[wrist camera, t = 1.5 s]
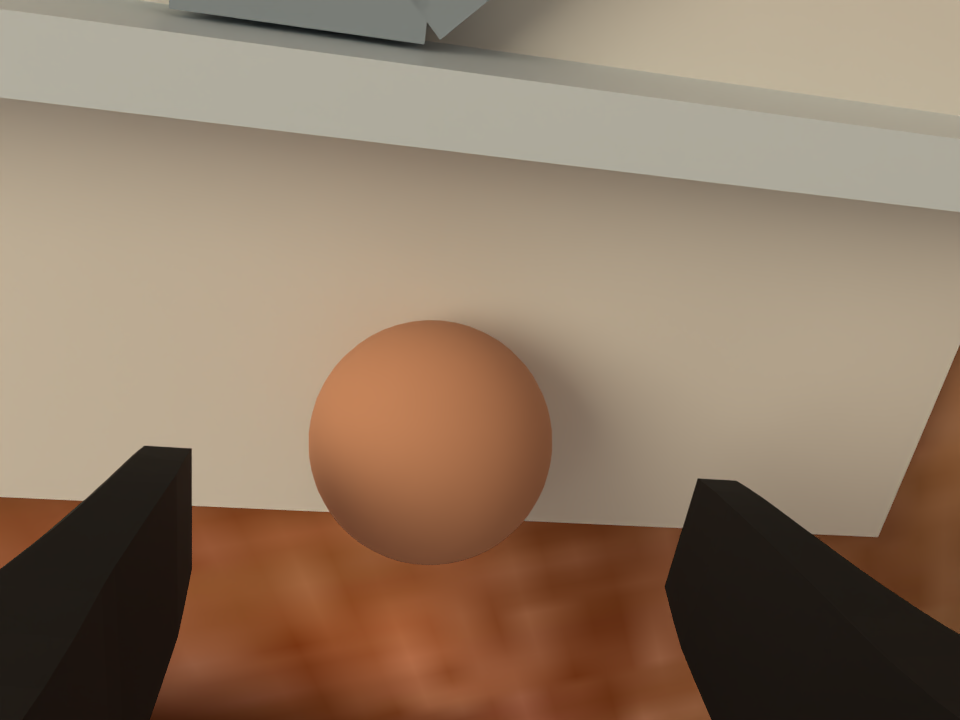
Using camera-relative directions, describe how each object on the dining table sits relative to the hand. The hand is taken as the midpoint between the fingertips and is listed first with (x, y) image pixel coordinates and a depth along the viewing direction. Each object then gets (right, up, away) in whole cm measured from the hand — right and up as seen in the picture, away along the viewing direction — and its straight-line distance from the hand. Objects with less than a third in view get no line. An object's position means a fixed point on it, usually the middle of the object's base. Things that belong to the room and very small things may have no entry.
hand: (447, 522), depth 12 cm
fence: (-1, +7, +2) cm, 8 cm away
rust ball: (0, +1, +2) cm, 2 cm away
